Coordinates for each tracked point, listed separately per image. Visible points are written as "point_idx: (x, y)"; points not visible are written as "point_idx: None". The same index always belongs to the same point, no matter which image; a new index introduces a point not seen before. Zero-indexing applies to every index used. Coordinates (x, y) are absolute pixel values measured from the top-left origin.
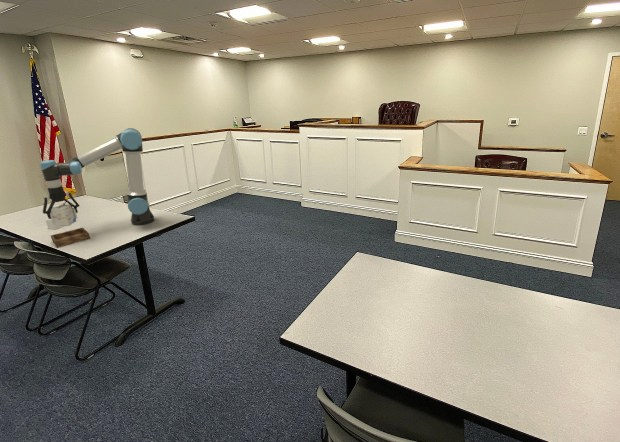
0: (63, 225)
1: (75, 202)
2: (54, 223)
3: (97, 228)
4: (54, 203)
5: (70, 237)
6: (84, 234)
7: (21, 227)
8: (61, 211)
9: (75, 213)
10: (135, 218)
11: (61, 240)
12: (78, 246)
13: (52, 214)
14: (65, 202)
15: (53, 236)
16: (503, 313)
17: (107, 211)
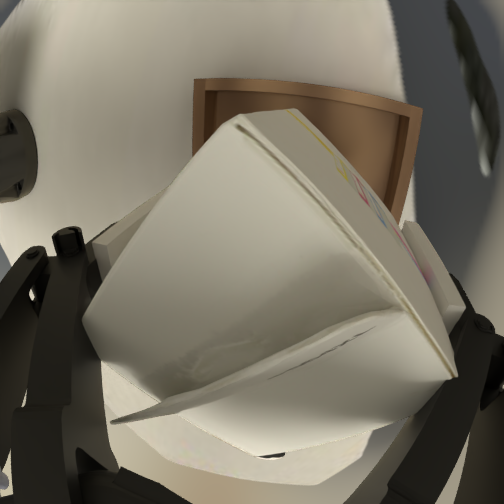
0: (338, 151)
1: (4, 296)
2: (406, 221)
3: None
4: (388, 495)
5: (320, 89)
6: (224, 78)
7: (339, 446)
8: (327, 172)
9: (142, 210)
10: (4, 135)
11: (382, 97)
12: (307, 5)
13: (431, 295)
14: (122, 417)
15: None
16: None
17: (114, 373)
